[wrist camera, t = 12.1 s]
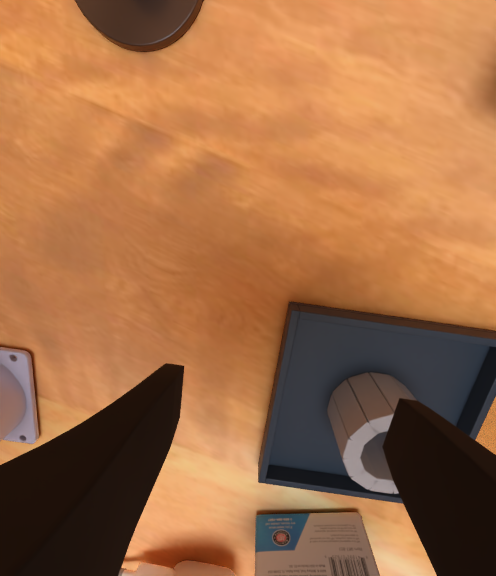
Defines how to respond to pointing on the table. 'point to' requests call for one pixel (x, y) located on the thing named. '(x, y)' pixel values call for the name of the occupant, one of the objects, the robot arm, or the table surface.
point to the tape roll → (366, 426)
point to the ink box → (313, 545)
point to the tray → (356, 360)
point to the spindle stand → (141, 21)
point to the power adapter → (178, 570)
